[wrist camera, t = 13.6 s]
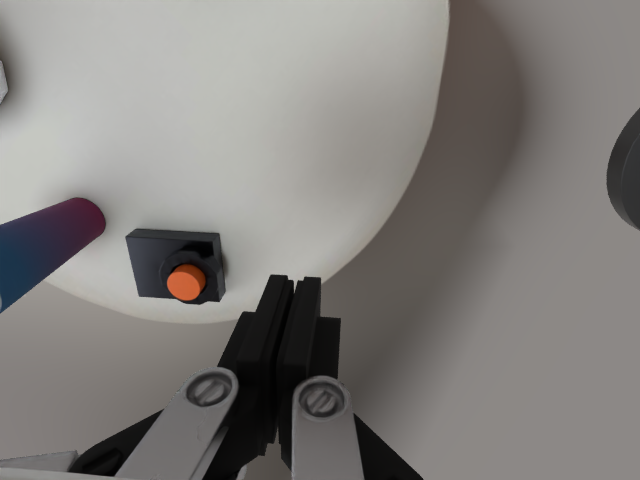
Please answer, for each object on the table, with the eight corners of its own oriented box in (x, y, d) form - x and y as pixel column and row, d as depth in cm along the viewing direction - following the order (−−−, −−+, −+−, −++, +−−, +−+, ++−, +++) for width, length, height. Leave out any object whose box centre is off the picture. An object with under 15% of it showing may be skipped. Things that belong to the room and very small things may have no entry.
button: (203, 264, 40) (197, 273, 38) (207, 292, 41) (201, 301, 40) (171, 262, 40) (164, 271, 38) (176, 290, 41) (169, 299, 40)
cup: (60, 179, 41) (-86, 235, 27) (118, 207, 42) (5, 274, 28) (51, 228, 44) (-85, 301, 30) (106, 253, 44) (-3, 334, 31)
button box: (225, 233, 42) (213, 249, 38) (231, 292, 45) (220, 311, 42) (135, 228, 43) (115, 243, 39) (148, 286, 46) (130, 305, 42)
